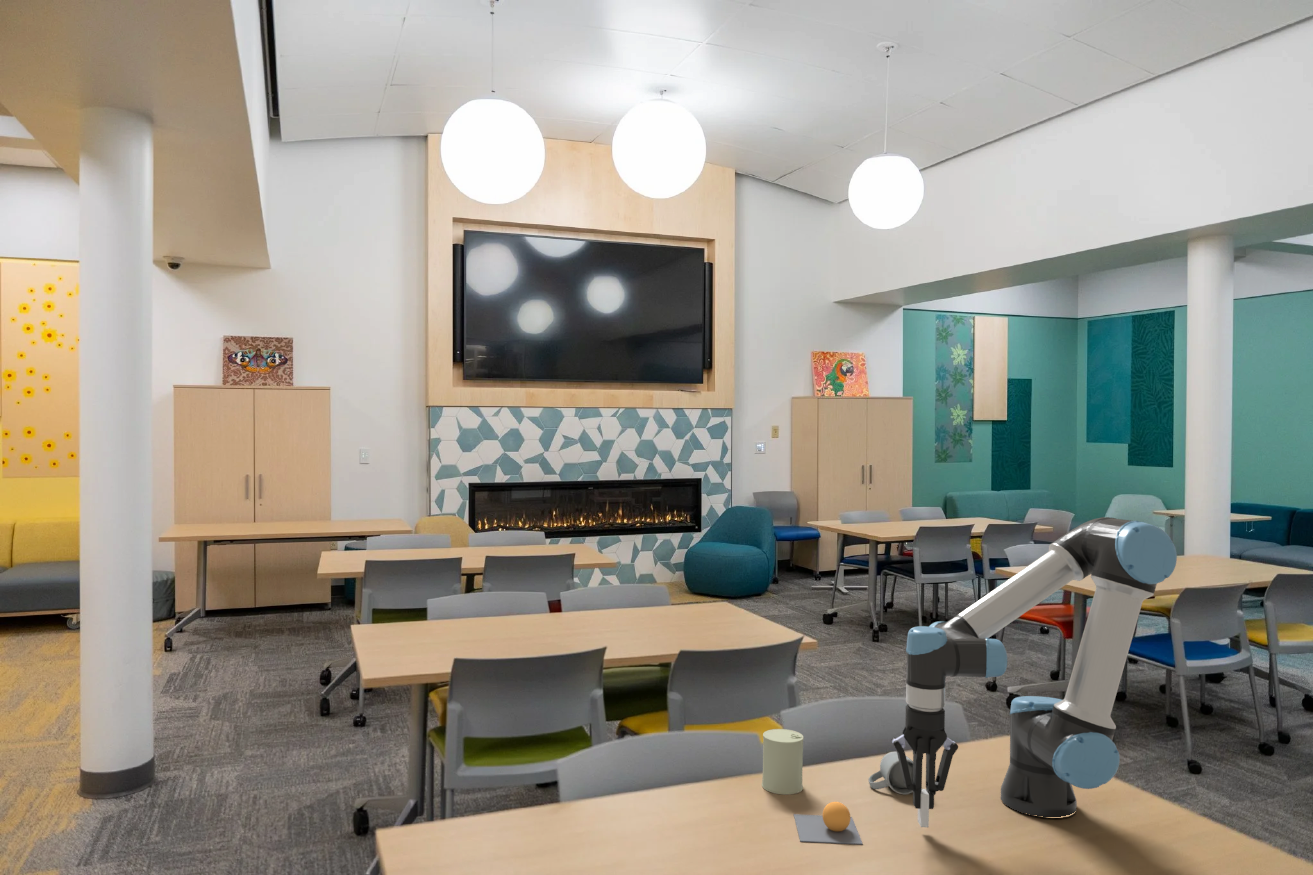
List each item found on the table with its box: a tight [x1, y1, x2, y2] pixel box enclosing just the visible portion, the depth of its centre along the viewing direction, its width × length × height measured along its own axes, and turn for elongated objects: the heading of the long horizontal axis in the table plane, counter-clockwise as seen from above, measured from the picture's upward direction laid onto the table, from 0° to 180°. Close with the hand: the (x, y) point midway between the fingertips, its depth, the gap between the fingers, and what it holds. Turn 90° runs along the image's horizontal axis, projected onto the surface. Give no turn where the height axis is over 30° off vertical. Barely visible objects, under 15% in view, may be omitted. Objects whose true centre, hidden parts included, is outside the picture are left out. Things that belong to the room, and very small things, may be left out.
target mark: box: [793, 813, 863, 845], centre depth 172 cm, size 12×12×1 cm
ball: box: [822, 801, 851, 832], centre depth 172 cm, size 6×6×6 cm
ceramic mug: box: [868, 751, 913, 795], centre depth 194 cm, size 11×8×8 cm
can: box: [761, 728, 805, 796], centre depth 193 cm, size 9×9×12 cm
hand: (923, 824), depth 171 cm, fingers closed
